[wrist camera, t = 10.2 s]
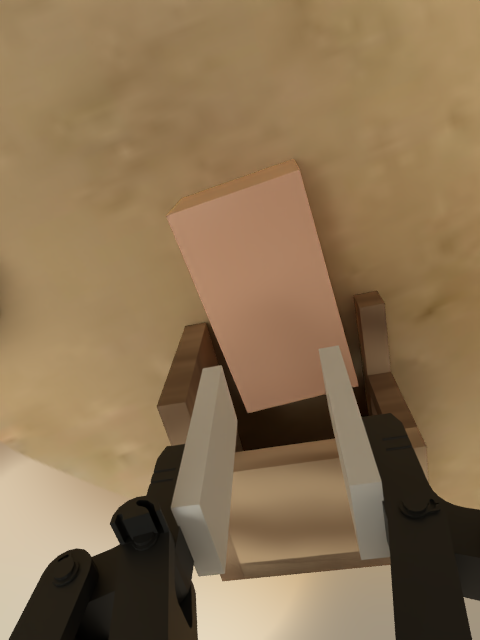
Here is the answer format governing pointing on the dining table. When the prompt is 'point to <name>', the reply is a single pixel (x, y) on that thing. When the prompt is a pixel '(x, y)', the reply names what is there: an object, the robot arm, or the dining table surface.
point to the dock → (291, 465)
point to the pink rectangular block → (263, 283)
